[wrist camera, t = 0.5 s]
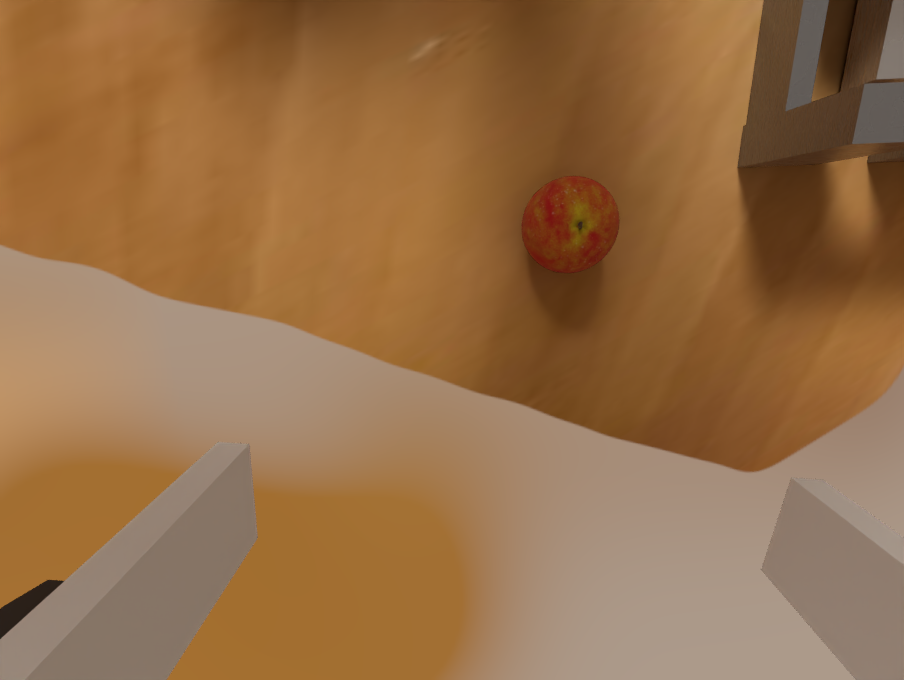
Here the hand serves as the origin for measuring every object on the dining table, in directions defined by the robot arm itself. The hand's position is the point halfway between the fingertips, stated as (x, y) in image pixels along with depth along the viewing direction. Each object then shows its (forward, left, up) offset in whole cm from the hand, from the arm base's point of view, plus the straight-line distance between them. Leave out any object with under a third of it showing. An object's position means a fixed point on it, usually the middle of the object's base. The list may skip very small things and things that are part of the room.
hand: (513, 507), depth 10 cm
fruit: (-6, +7, -27) cm, 29 cm away
